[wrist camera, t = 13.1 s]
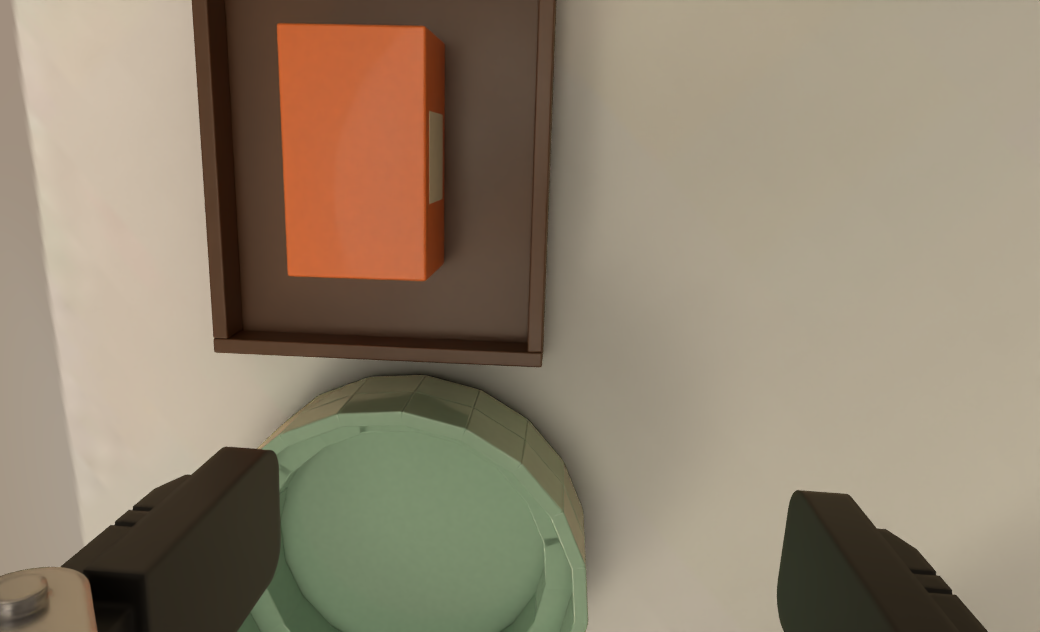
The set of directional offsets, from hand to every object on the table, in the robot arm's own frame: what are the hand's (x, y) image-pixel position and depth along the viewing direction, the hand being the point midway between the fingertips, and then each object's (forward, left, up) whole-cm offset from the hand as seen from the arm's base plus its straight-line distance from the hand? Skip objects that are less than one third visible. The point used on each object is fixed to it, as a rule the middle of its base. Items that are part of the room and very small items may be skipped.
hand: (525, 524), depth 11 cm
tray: (-1, -9, -19) cm, 21 cm away
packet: (-1, -9, -19) cm, 21 cm away
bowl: (+13, +1, -19) cm, 23 cm away
